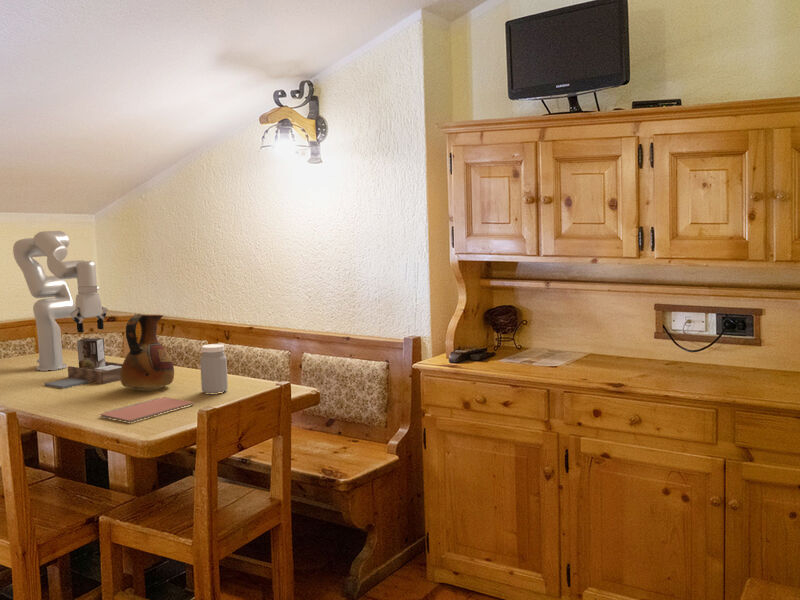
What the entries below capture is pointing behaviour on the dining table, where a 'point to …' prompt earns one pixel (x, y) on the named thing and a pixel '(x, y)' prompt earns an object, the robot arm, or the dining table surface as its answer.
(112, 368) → the grey offcut
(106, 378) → the tray
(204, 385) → the jar
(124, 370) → the ceramic pitcher
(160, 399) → the notebook
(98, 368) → the grey offcut
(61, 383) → the slate mat
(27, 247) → the robot arm
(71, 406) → the dining table surface
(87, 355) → the coffee box
